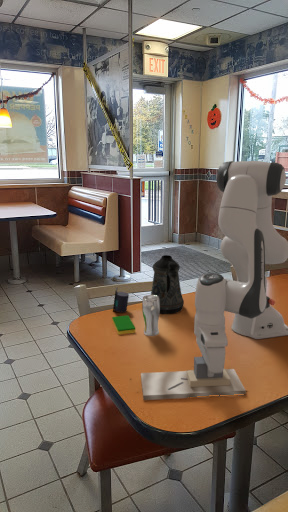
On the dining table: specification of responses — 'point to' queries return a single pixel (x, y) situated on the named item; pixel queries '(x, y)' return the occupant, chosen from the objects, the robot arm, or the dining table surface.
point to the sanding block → (205, 375)
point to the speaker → (120, 301)
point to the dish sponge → (123, 325)
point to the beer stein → (167, 285)
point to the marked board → (184, 386)
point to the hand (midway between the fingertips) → (207, 370)
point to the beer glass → (151, 314)
